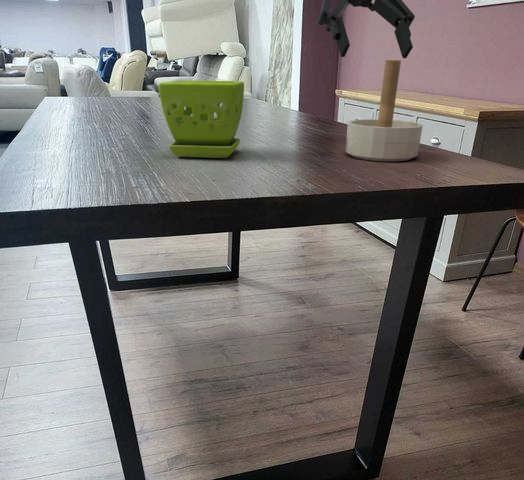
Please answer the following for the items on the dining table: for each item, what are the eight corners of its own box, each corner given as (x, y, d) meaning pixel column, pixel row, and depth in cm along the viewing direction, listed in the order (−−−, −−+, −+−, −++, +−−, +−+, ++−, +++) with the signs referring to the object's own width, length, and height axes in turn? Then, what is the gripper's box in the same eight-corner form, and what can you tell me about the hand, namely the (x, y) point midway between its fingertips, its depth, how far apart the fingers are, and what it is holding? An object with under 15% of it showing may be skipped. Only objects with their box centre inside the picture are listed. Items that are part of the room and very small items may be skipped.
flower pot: (245, 150, 101) (246, 80, 95) (237, 162, 89) (236, 83, 83) (179, 147, 102) (174, 78, 96) (161, 159, 90) (155, 81, 84)
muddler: (385, 150, 101) (397, 60, 93) (398, 154, 97) (412, 60, 89) (363, 151, 100) (374, 59, 91) (375, 155, 96) (388, 60, 87)
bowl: (393, 149, 106) (397, 118, 103) (431, 161, 95) (438, 127, 92) (333, 151, 102) (336, 119, 99) (366, 163, 91) (370, 128, 88)
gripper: (395, -13, 106) (422, 68, 102) (287, -21, 99) (311, 66, 95) (413, -49, 99) (443, 37, 95) (298, -59, 92) (324, 32, 88)
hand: (377, 52), depth 95 cm, fingers open, 13 cm apart
